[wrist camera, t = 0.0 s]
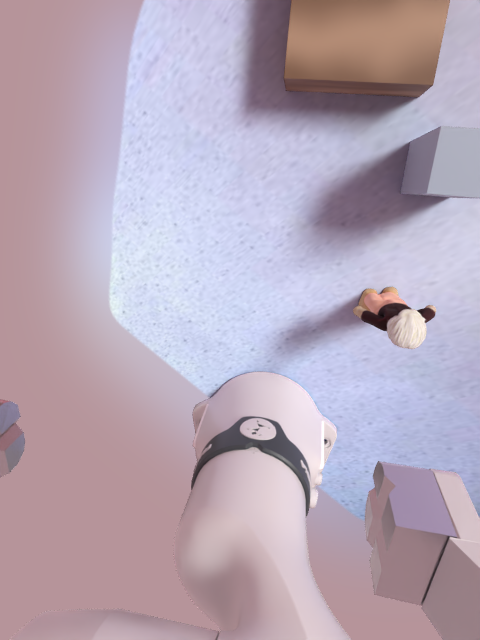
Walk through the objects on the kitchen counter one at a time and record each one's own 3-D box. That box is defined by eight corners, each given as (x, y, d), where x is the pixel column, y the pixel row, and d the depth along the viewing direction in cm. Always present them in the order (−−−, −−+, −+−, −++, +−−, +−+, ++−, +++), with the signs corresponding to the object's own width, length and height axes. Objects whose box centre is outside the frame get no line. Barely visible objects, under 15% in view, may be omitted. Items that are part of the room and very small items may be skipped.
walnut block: (417, 97, 40) (433, 84, 35) (286, 91, 41) (283, 78, 37) (449, -67, 36) (471, -107, 31) (302, -67, 37) (301, -105, 32)
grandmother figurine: (352, 322, 47) (368, 366, 35) (346, 291, 46) (360, 325, 34) (422, 308, 45) (463, 349, 33) (416, 275, 44) (457, 305, 32)
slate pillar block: (450, 197, 41) (492, 198, 32) (400, 193, 42) (426, 193, 33) (462, 145, 40) (510, 130, 30) (410, 141, 41) (441, 126, 31)
